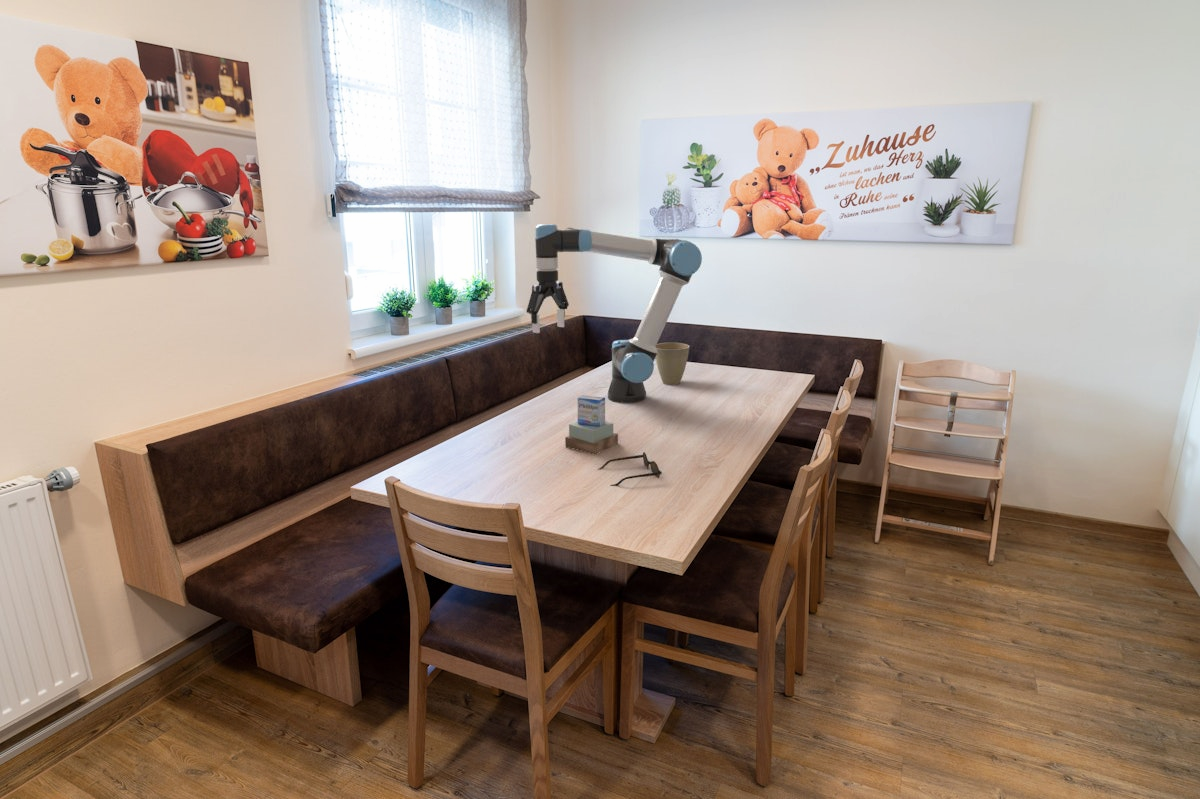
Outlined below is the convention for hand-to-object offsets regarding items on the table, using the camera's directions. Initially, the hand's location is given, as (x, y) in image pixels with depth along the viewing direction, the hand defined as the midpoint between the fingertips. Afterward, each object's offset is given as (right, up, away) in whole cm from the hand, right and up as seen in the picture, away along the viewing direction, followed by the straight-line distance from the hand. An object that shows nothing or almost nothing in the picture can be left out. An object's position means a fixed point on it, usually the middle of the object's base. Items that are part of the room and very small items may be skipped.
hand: (548, 329), depth 257 cm
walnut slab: (+16, -40, -27) cm, 51 cm away
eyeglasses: (+26, -47, -51) cm, 74 cm away
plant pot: (+48, -18, +48) cm, 71 cm away
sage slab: (+16, -37, -28) cm, 49 cm away
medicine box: (+16, -33, -29) cm, 46 cm away
